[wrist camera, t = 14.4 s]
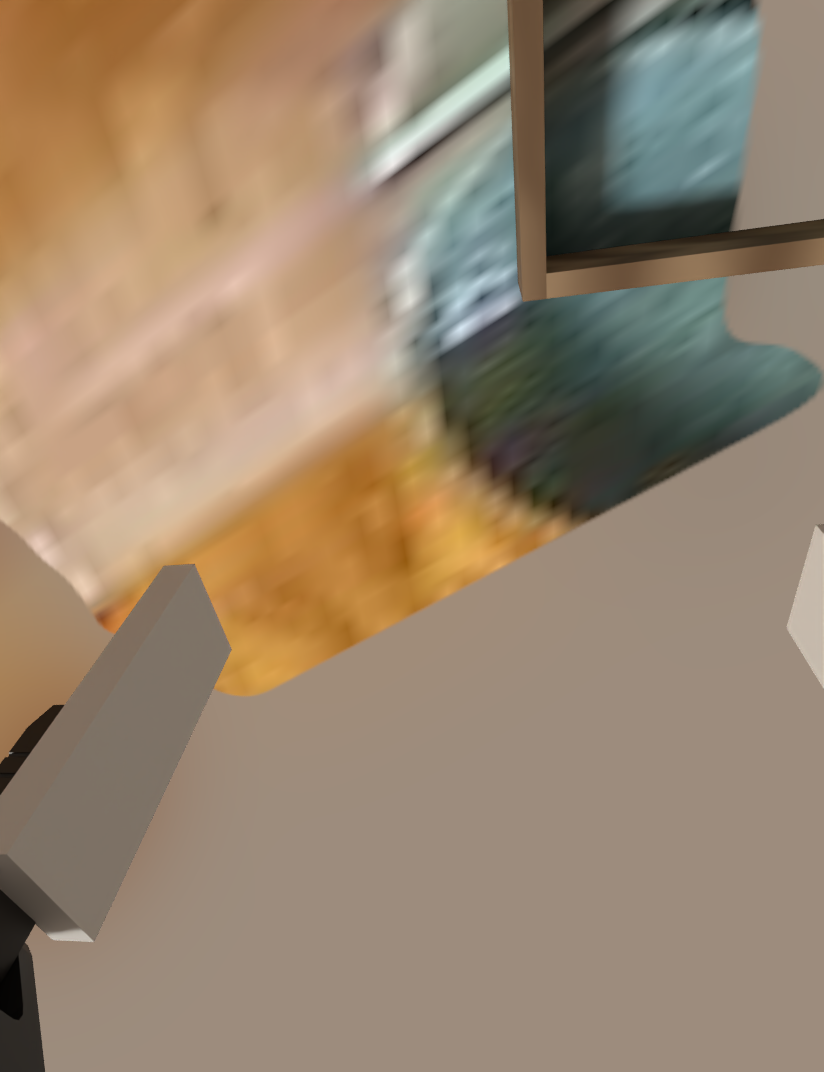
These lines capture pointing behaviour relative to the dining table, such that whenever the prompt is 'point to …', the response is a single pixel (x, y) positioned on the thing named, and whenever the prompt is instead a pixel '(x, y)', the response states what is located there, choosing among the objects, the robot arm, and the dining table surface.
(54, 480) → the dining table surface
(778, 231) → the pocket frame
